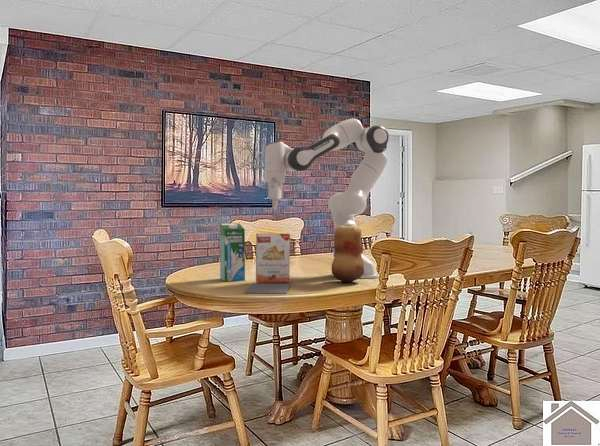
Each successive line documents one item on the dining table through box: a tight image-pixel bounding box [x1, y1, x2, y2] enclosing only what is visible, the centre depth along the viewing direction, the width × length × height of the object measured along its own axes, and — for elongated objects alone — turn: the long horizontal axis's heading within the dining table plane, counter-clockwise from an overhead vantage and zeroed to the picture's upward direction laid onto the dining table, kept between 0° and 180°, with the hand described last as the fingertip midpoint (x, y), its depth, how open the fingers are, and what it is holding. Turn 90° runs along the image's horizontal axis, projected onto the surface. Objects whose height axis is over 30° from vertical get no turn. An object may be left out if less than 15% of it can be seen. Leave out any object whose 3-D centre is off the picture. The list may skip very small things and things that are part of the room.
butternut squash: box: [331, 224, 364, 283], centre depth 212 cm, size 14×13×25 cm
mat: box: [243, 282, 291, 295], centre depth 198 cm, size 16×21×1 cm
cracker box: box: [255, 232, 291, 283], centre depth 212 cm, size 14×6×21 cm, turn 101°
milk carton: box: [219, 222, 246, 282], centre depth 220 cm, size 9×9×25 cm
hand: (275, 209), depth 220 cm, fingers closed
